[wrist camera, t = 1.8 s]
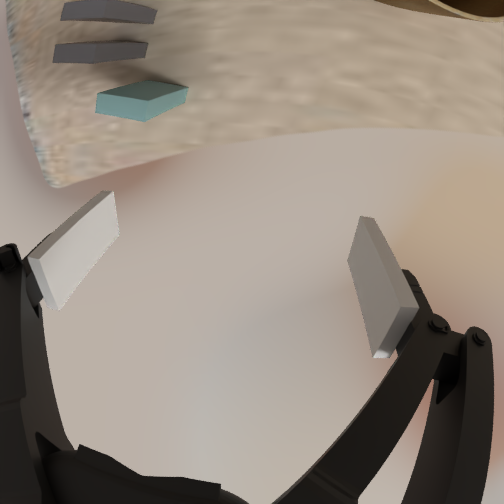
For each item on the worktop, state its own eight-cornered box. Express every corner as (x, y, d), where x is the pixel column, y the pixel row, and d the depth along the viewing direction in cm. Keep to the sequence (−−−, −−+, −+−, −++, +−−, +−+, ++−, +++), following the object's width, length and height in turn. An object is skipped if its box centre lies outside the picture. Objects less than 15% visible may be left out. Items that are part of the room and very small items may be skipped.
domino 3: (147, 80, 27) (97, 93, 19) (188, 87, 27) (148, 101, 20) (144, 94, 28) (95, 112, 20) (184, 102, 29) (144, 122, 21)
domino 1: (119, 9, 21) (64, 2, 13) (157, 10, 22) (108, -2, 14) (116, 22, 22) (60, 20, 15) (153, 24, 23) (102, 17, 15)
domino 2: (111, 40, 24) (55, 44, 16) (148, 43, 24) (96, 43, 16) (108, 54, 25) (52, 62, 17) (144, 57, 25) (92, 63, 17)
